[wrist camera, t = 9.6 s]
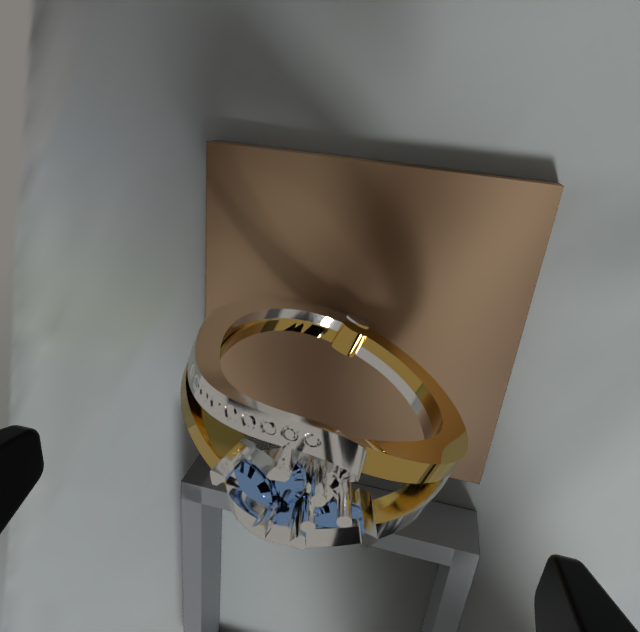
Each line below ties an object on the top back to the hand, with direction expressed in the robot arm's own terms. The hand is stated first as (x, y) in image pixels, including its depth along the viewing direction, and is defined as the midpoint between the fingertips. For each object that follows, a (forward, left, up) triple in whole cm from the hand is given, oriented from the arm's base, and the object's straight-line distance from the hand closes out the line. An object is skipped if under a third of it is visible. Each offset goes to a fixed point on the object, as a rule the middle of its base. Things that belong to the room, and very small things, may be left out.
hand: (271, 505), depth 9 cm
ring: (0, 0, -8) cm, 8 cm away
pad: (0, 0, -9) cm, 9 cm away
